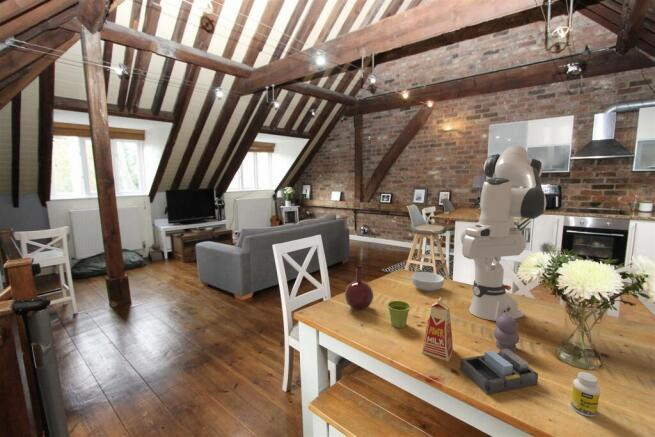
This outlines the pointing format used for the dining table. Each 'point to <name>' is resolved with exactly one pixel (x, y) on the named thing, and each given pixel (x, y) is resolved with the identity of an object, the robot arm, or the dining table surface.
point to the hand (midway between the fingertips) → (491, 269)
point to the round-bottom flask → (359, 292)
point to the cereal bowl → (427, 281)
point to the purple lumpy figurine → (506, 333)
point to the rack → (492, 379)
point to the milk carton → (438, 332)
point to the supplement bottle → (585, 394)
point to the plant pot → (398, 313)
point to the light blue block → (498, 363)
